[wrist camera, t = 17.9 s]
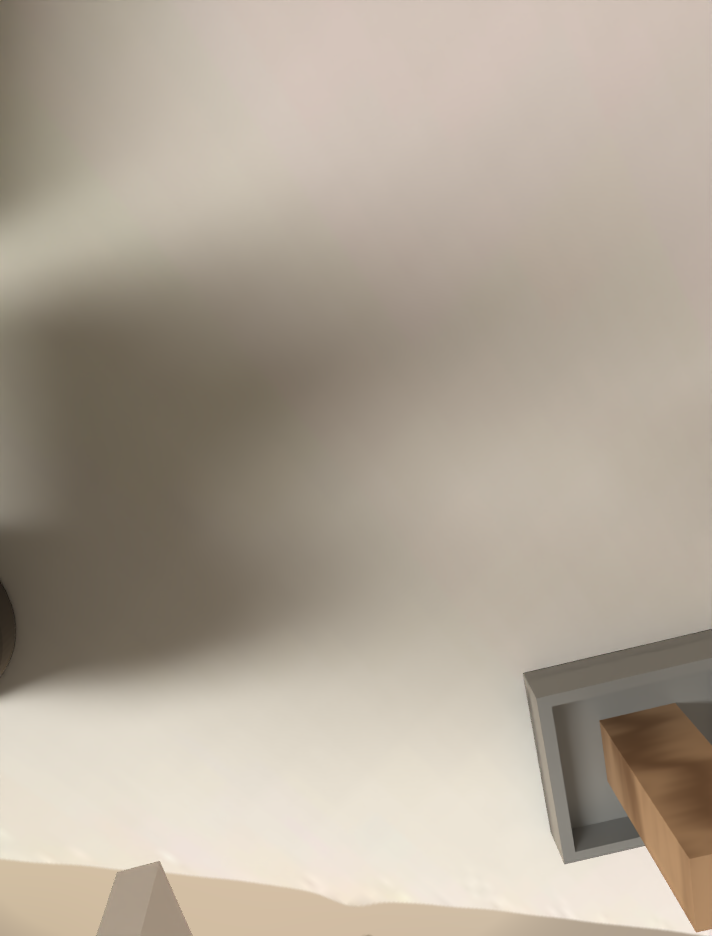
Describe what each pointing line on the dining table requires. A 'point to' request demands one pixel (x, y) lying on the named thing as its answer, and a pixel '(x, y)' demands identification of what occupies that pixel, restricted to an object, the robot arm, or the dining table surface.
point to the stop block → (667, 797)
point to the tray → (579, 735)
